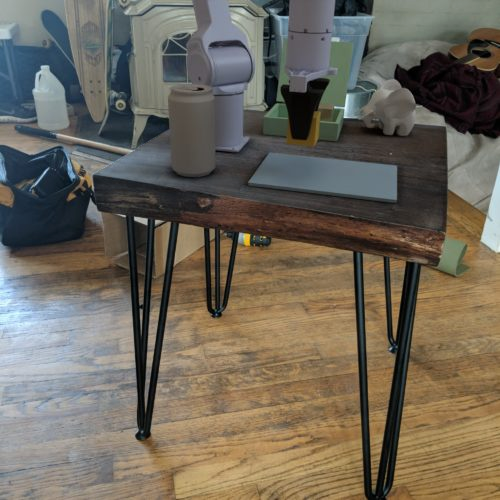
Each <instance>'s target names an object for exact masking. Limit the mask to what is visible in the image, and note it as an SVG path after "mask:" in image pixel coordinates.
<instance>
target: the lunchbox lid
mask: <svg viewBox="0 0 500 500" xmlns="http://www.w3.org/2000/svg"><path fill="white" fill-rule="evenodd" d="M287 39H288V38H283V41H282V42H283V43H282V51H281V59H280V67H279V76H278V84H277V92H276V102H277V103H285V101H284V99H283V97H282V95H281V91H280V88H281V86H282V85H283V84H285V85H290V84H289V80H290V78H289V77H288V76H287V75H286V73H285V72H284V66H285V65H286V57H287ZM354 45H355V43H354V42H351V41H336V40H335V41H334V40H331V50H330V61H329V67H334V68H338V71H337V74H336V75H328V76H324V77H321V78H326V79H329V80H330V83H329V84H328V86H327V88H326V90H325V92H324V94H323V96H322V99H321V101H320V103H323V104H334V107H335V108H346V104H347V103H346V102H347V96H348V88H349V81H350V75H351V74H350V73H351V66H352V60H353V59H352V58H353V51H354Z"/></svg>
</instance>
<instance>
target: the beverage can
mask: <svg viewBox="0 0 500 500" xmlns="http://www.w3.org/2000/svg"><path fill="white" fill-rule="evenodd" d="M169 91H170V92H169V94H168V96H167V109H168V123H169V124H168V125H169V126H168V127H169V145H170V164H171V165H170V166H171V169H172V170H173V171H174V172H176V174H177V175H180V176H182V177H187V178H201V177H204V176H208V175H210V174H211V173H212V171H214V170H215V169H216V150H215V97H214V95H213V94H212V92H211V91H212V88H211V87H210V86H207V85H200V84H192V83H183V84H175V85H172V86H170V87H169Z"/></svg>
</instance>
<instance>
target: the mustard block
mask: <svg viewBox="0 0 500 500" xmlns="http://www.w3.org/2000/svg"><path fill="white" fill-rule="evenodd" d="M320 114H321V112H319V111H315V112H314V116H313V120H312V124H311V129H310V132H309V136H308V138H307V140H297V139H292V136H291V131H290V124H289V116H288V124H287V137H286V145H293V146H301V147H312V148H313V147H315V146H316V145H317V142H318V141H319V140H318V136H319V125H320Z"/></svg>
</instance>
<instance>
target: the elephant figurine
mask: <svg viewBox="0 0 500 500" xmlns="http://www.w3.org/2000/svg"><path fill="white" fill-rule="evenodd" d="M420 108H423V105H417V103H416V100H415V98H414V95H413V94H412V92H411V91H410V90H409V89H408V88H406V87H402V85H401V84H400V82H399V81H398V80H397V79H395V78H391V79H388V80H385V81H383V82H382V84H381V85H380V87H379V89H376V91H374V92H373V94H372V95H371V97H370V100H369V101H368V103H367V104H366V105H364V106H362V107H361V108H360V109H359V110H357V111H356V112H355V113H354V115H358V114H359V113H361V112H362V116H361V117H360V118H358V121H360V120H361V121H362V122H363V123H364V125H365V126H366V127H367V128H369V129H373V128H375V127H376V125H377V124H378V128H379V129H381V130H382V134H384V135H385V136H393V135H394V132H395V131H396V135H397V136H399V137H407V136H409V134H410V133H411V131H412V130H413V128H414V126H415V123H416V118H417V114H416V110H419V109H420ZM374 119H376V120H378V123H377V124H376V123H375V122H374Z"/></svg>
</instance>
